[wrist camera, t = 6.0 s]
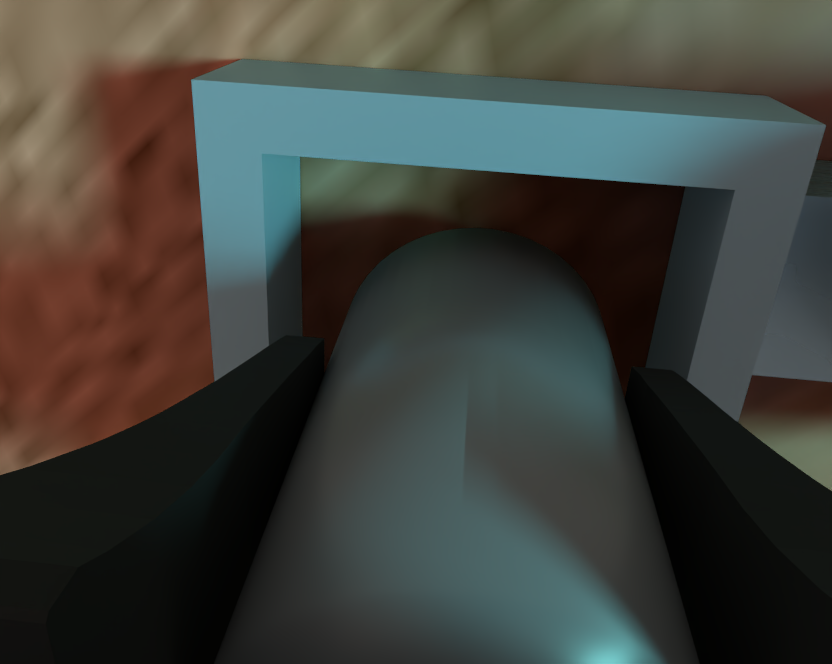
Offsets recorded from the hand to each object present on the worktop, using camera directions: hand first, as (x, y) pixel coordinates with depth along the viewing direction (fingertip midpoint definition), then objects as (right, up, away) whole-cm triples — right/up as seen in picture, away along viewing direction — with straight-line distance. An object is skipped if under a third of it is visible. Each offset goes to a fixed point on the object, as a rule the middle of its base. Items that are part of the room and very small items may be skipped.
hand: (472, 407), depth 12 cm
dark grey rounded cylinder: (0, +1, +2) cm, 2 cm away
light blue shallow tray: (0, +2, +3) cm, 3 cm away
